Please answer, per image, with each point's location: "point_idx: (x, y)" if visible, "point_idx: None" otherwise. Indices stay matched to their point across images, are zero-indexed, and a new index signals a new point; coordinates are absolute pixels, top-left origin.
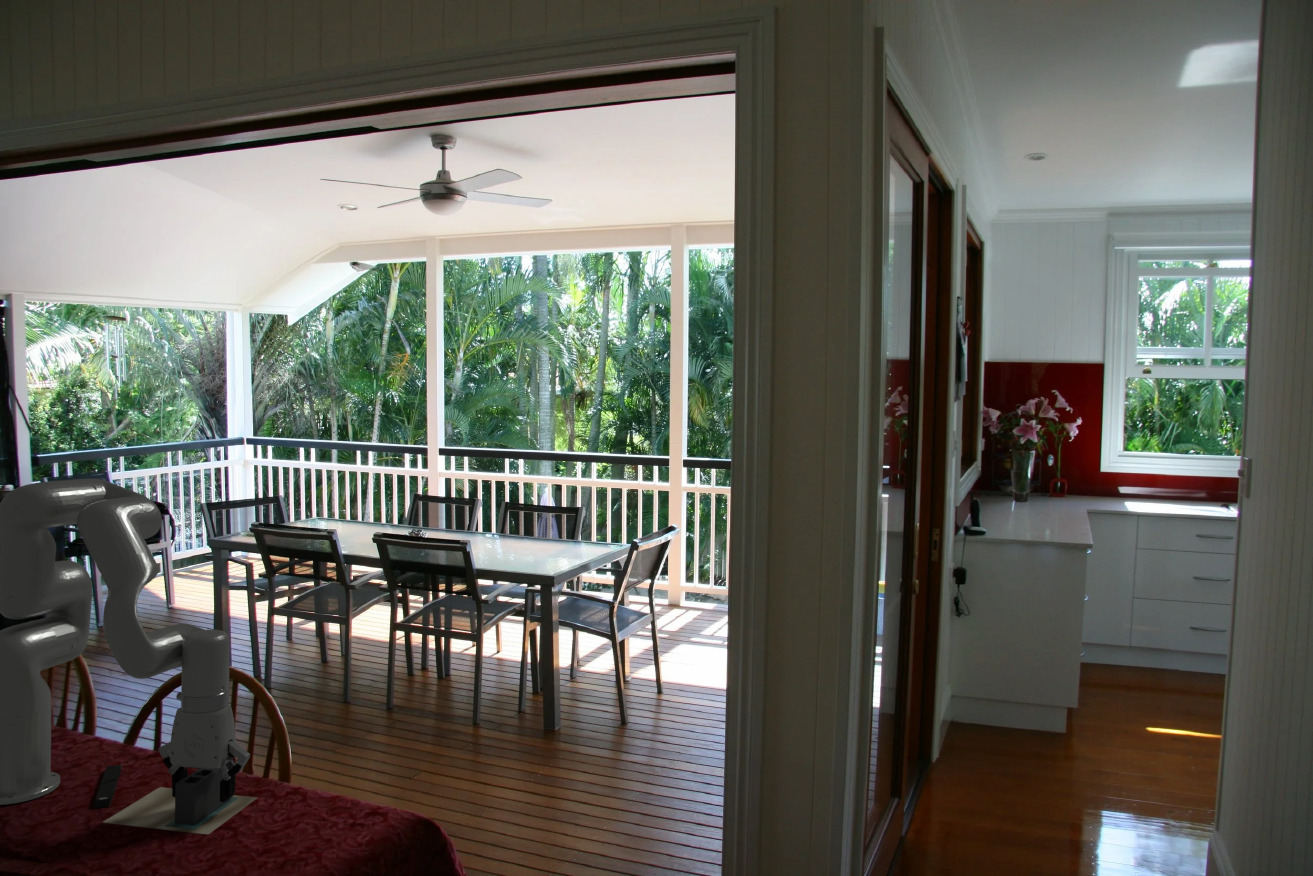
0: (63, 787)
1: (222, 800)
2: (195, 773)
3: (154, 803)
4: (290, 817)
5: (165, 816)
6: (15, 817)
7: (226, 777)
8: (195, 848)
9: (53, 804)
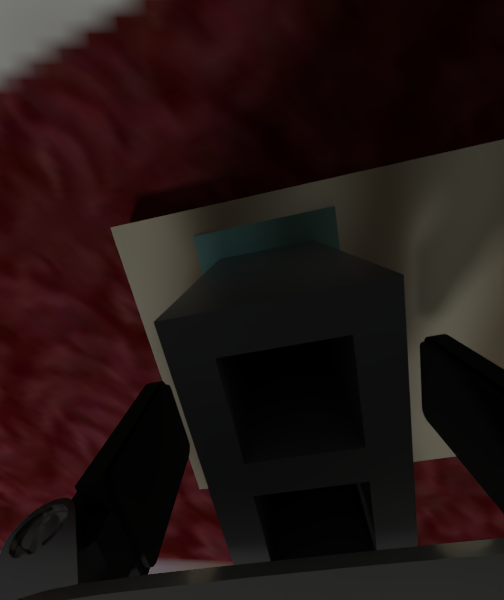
0: None
1: (147, 387)
2: (383, 502)
3: None
4: (59, 446)
5: (401, 271)
6: None
7: (46, 527)
8: (134, 178)
9: None
